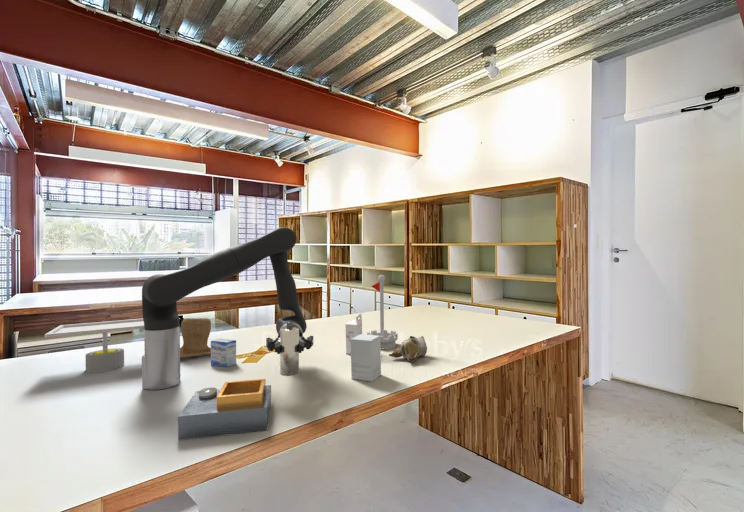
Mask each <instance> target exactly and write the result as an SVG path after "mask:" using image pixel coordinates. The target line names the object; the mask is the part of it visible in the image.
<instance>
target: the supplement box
mask: <svg viewBox="0 0 744 512" xmlns="http://www.w3.org/2000/svg"><path fill="white" fill-rule="evenodd" d="M381 350H382V349H380V336H376V335H367V334H363V333H362V334H360V335H358V336H356V337H354V338H352V339H351V354H350V363H351V364H350V367H351V370H350V372H351V379H352V380H357V381H364V382H374V381H375V380H377V379H378V378H379V377H380V376H381V374H382V357H381V352H382V351H381Z"/></svg>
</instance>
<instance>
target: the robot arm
mask: <svg viewBox="0 0 744 512" xmlns="http://www.w3.org/2000/svg"><path fill="white" fill-rule="evenodd" d="M296 244H297V234H296V232H295V231H294V230H293V229H291V228H289V227H285V226H284V227H281V226H280V227H277V228H276V229H274V230H272V231H270V232H268V233H266V234H264V235H262V236H260V237H259V238H258V237H257V238H256V239H252V240H248V241H246V242H242V243H239V244H236V245H233V246H231V247H228V248H226V249H222V250H220V251H217V252H215V253H213V254H210V255H209V256H207V257H206V258H204V259H202V260H201V261H199V262H197V263H196V264H194V265H192V266H190V267H187V268H184V269H181V270H178V271H175V272H172V273H167V274H163V273H162V274H160V273H159V274H158V273H157V274H154V275H152V276H149V277H148V278H147V279H145V281H144V282H143V284H142V288H141V306H142V307H141V309H142V310H141V313H142V314H141V315H142V319H143V321H144V328H143V329H144V330H143V333H144V334H143V337H144V345H143V346H144V355H142V356H141V387H142V388H141V389H142V390H151V391H155V390H164V389H169V388H172V387H175V386H177V385H179V384H180V383H181V359H180V348H181V345H180V344H181V336H180V335H181V333H180V332H181V323H180V316H179V314H178V313H179V312H178V305H177V302H178V301H180V300H182V299H184V298H185V297H187V296H189V295H191V294H192V293H195V292H196V291H198V290H200V289H202V288H204V287H208V286H210V285H213V284H217V283H219V282H221V281H224V280H227V279H229V278H231V277H234V276H236V275H238V274H240V273H243V272H244V271H246V270H248V269H249V268H252V267H253V266H255V265H257V264H258V263H259V262H261V261H263V260H264V259H266V258H268V257H269V259H270V264H271V267H272V270H273V275H274V280H275V287H276V294H277V296H276V297H277V304H278V309H279V310H281V311H290V312H293V314H294V315H288V316H283V317H280V318H279V319H277V321H276V324H275V328H276V329H275V330H276V333H277V337H276V338H275V339H274V338H271V337H266V338H265V340H266V341H265V342H266V344H265V345H266V346H265V347H266V349H267V350H268V351H269V352H273V351H274V353H276V354H277V355H280V329H282V328H287V322H289V321H292V322H293V327H294V328H299V354H301V353H302V352H304V351H305V350H310V349H311V348H313V346H314V335H310V336H307V337H306V338H305V336H304V333H306V330H307V329H308V327H307V320H306V319H305V316H304V315H303V313H302V309H301V307H300V304H299V298H298V291H297V290H298V289H297V286H296V282H295V279H294V277H293V275H292V273H291V271H290V270H291V269H290V266H289V261H288V259H289V258H288V253H289V252H290V251H291V250H292V249H293V248H294V247H295V246H296Z"/></svg>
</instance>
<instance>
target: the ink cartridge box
mask: <svg viewBox="0 0 744 512" xmlns="http://www.w3.org/2000/svg"><path fill="white" fill-rule="evenodd" d="M355 318H356V319H353V320H349V321H348V322H347V323H345V354H346V355H351V339H352V338H354V337H356V336H358V335H360V334H363V317H362V313H359V314H358V315H356V317H355Z"/></svg>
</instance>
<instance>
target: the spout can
mask: <svg viewBox="0 0 744 512" xmlns="http://www.w3.org/2000/svg"><path fill="white" fill-rule="evenodd" d="M279 364H280V365H279V366H280V367H279V375H281V376H282V377H283V376H285V377H293V376H296V375H298V374H299V373H300V353H299V328H294V327H293V322H292V321H289V322H287V328H282V329H280V354H279Z"/></svg>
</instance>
